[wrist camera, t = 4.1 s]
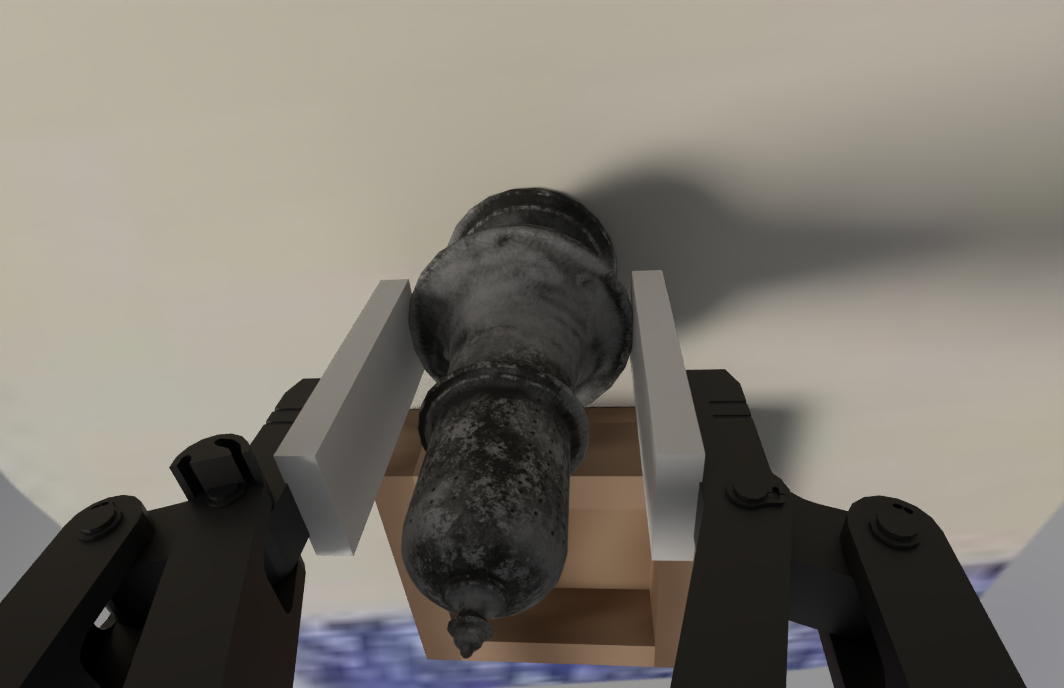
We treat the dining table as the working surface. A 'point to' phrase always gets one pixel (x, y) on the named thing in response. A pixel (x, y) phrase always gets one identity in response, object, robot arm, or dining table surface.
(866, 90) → the dining table surface
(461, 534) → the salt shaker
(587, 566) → the walnut holder
